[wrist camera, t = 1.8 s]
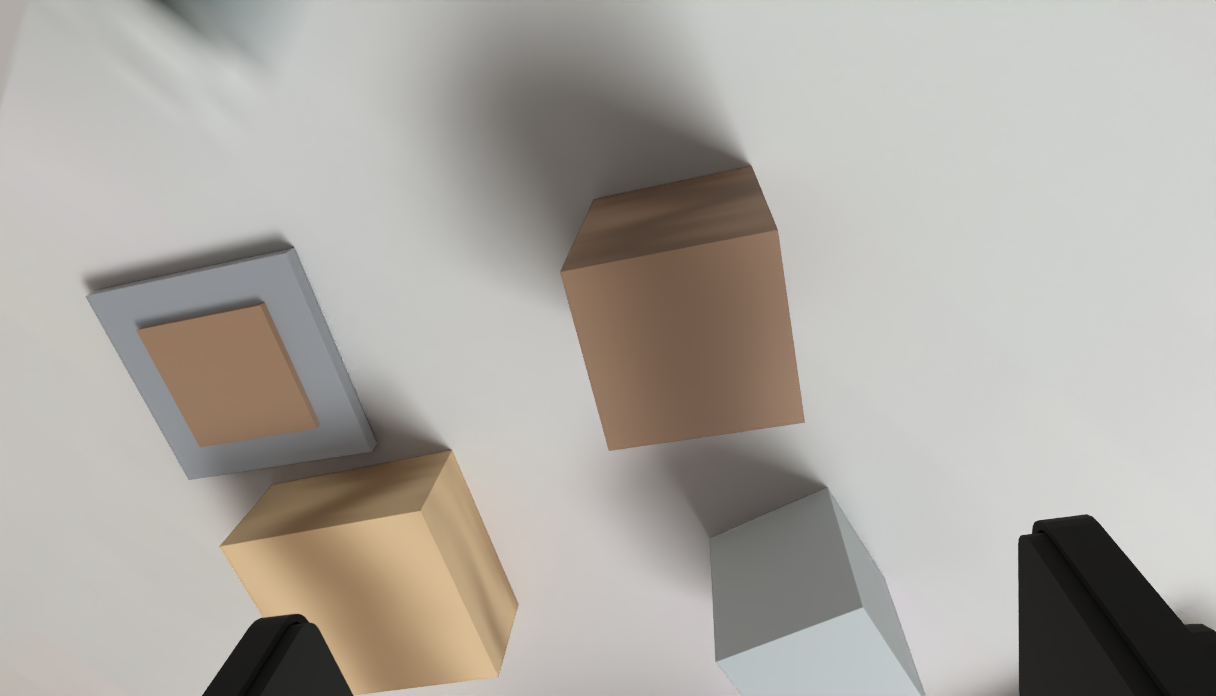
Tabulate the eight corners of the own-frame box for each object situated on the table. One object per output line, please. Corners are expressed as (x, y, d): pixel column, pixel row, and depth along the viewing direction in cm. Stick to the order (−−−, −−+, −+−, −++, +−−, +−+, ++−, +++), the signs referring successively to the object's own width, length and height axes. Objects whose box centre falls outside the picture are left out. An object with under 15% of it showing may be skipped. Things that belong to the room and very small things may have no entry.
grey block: (827, 486, 27) (863, 607, 22) (884, 577, 28) (930, 711, 23) (709, 537, 28) (715, 662, 23) (769, 621, 30) (788, 756, 25)
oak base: (454, 445, 28) (420, 510, 24) (519, 599, 31) (498, 677, 28) (275, 481, 30) (219, 546, 26) (354, 623, 33) (314, 700, 29)
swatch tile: (294, 247, 25) (281, 256, 24) (377, 443, 28) (367, 456, 27) (97, 290, 26) (79, 299, 25) (197, 471, 29) (183, 484, 29)
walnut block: (751, 165, 22) (778, 229, 16) (773, 313, 24) (804, 422, 18) (594, 198, 23) (560, 272, 17) (628, 338, 25) (608, 451, 19)
